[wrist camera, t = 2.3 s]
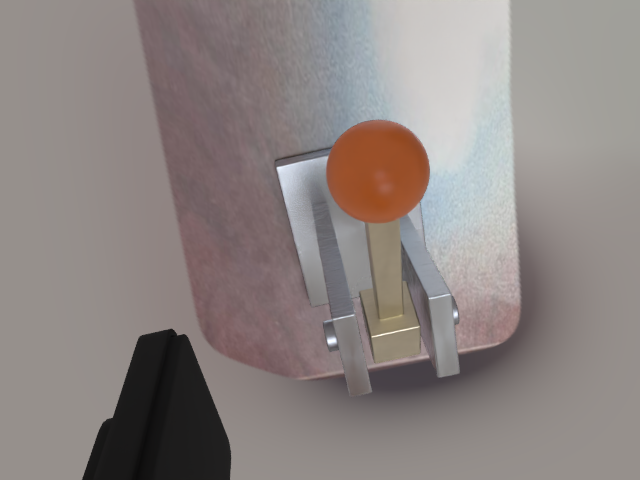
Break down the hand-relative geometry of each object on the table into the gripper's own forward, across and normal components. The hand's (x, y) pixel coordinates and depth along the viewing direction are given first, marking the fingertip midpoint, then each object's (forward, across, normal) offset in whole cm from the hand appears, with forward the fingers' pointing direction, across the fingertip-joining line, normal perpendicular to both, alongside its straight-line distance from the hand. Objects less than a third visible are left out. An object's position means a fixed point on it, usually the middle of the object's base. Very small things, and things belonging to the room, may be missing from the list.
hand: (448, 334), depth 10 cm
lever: (+12, 0, +4) cm, 12 cm away
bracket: (+23, 0, +9) cm, 25 cm away
